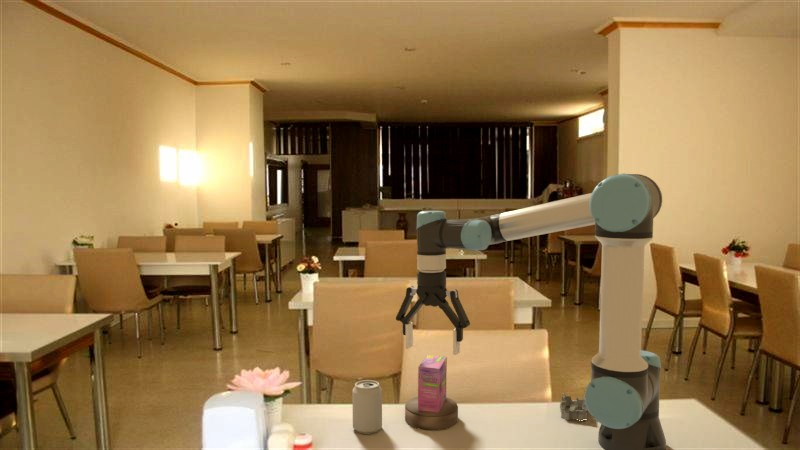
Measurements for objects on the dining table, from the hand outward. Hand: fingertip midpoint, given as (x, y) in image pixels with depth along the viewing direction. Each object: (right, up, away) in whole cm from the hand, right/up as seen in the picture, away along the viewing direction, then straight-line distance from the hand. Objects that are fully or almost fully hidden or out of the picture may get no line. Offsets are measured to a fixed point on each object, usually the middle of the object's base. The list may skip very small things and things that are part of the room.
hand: (432, 350), depth 159 cm
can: (-17, -19, -4) cm, 26 cm away
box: (0, -15, +1) cm, 15 cm away
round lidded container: (0, -19, +2) cm, 19 cm away
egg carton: (+39, -19, +5) cm, 44 cm away
